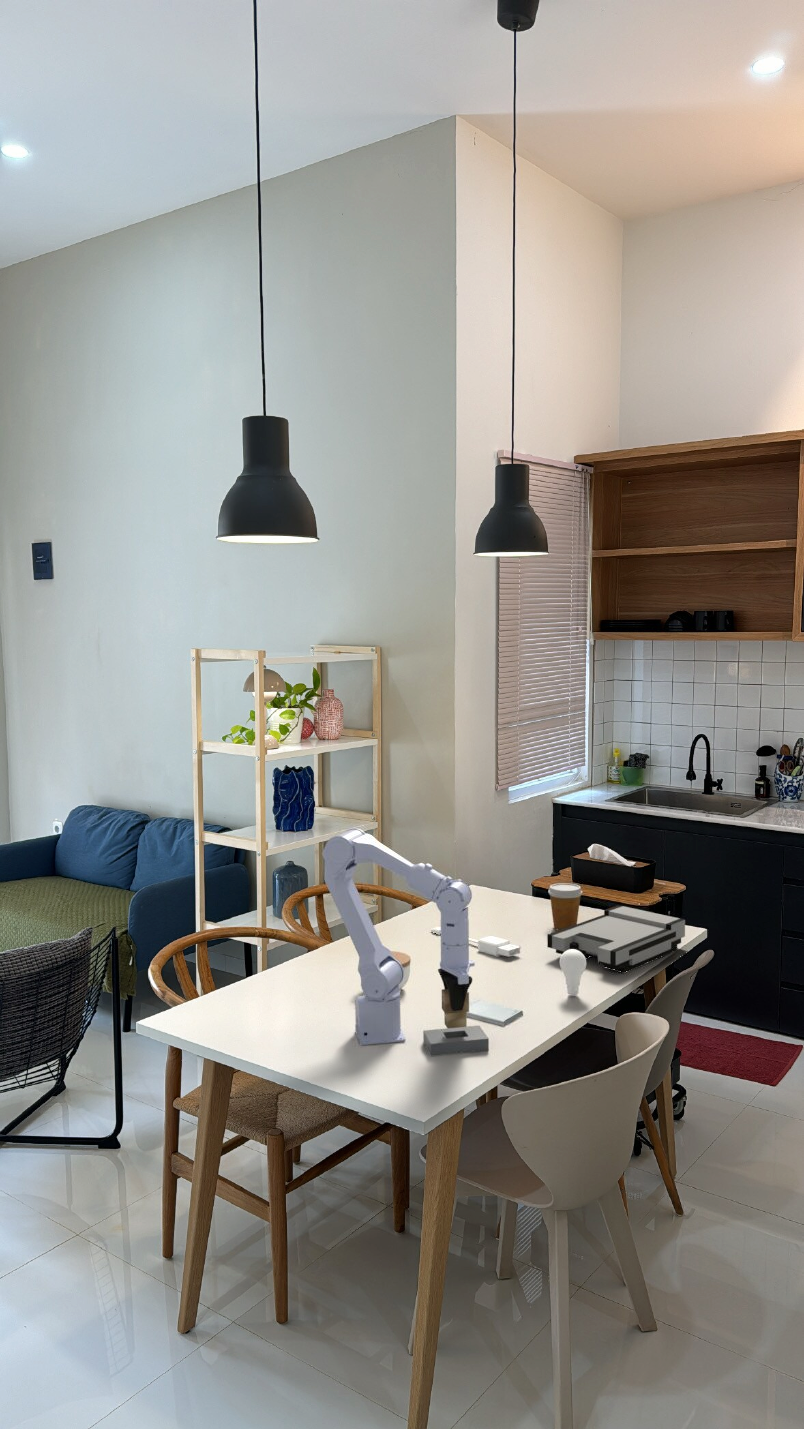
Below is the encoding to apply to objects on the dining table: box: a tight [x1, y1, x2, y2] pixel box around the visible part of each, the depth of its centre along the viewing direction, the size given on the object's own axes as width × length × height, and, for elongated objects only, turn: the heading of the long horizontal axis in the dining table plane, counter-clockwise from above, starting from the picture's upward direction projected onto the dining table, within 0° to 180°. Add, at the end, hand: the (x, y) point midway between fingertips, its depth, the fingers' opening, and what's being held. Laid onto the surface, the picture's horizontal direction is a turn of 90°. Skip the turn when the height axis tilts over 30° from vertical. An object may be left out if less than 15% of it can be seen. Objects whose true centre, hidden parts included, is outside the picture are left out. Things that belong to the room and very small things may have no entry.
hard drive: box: [467, 998, 524, 1027], centre depth 225 cm, size 2×8×12 cm
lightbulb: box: [559, 949, 587, 997], centre depth 234 cm, size 6×6×11 cm
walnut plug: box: [441, 989, 470, 1028], centre depth 207 cm, size 5×3×7 cm, turn 101°
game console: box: [546, 904, 686, 973], centre depth 264 cm, size 21×32×8 cm, turn 134°
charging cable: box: [429, 926, 521, 957], centre depth 274 cm, size 5×32×3 cm, turn 40°
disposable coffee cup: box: [548, 882, 583, 931], centre depth 287 cm, size 10×10×12 cm
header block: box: [422, 1025, 490, 1057], centre depth 207 cm, size 12×7×2 cm, turn 101°
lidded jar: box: [390, 950, 411, 992], centre depth 240 cm, size 11×11×9 cm
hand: (455, 1006), depth 207 cm, fingers closed on walnut plug, 3 cm apart
